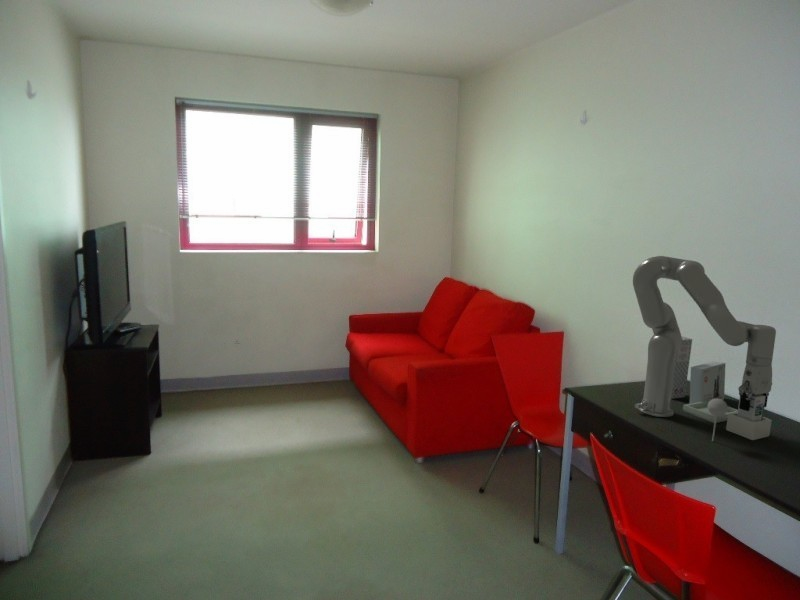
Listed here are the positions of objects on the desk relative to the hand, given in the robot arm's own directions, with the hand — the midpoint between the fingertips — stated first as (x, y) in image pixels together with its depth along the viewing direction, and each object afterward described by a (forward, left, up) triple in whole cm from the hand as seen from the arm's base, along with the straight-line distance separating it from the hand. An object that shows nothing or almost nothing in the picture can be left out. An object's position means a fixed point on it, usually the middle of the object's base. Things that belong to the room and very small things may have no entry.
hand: (752, 407), depth 193 cm
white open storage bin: (0, 0, -9) cm, 9 cm away
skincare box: (+17, +27, -10) cm, 33 cm away
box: (+9, +39, -10) cm, 42 cm away
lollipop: (-19, 0, -10) cm, 22 cm away
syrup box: (0, 0, -10) cm, 10 cm away
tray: (+5, +17, -9) cm, 20 cm away
